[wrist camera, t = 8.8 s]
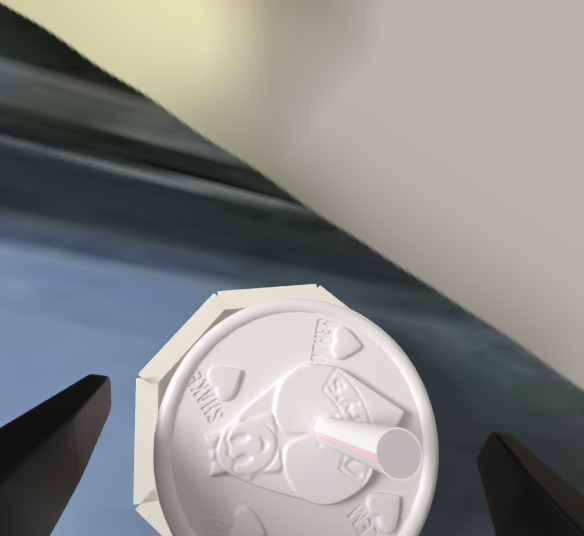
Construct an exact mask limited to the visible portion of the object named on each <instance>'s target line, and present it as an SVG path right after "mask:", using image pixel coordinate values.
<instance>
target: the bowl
mask: <svg viewBox="0 0 584 536" xmlns="http://www.w3.org/2000/svg"><path fill="white" fill-rule="evenodd" d="M283 298H311V299H318V300H323V301H327V302H331V303H335V304H338V305H341V306H343V307H346V308H348V307H347V306H345V305H344V304H343V303H342V302H340V301H339V300H338V299H337V298H335V297H334V296H333V295H332V294H330V293H329V292H328V291H327V290H325V289H324V288H323V287H322V286H319V287H318V288H317V287H316V284H310V285H296V286H283V287H270V288H256V289H243V290H230V291H218V296H217V295H215V294H213V295H212V296H211V297H210V298H209V299H208V300H207V301H206V302H205V303H204V304H203V305H202V306H201V307H200V309H199V310H198V311H197V312H196V313H195V314H194V315H193V316H192V317H191V318H190V319H189V320H188V321H187V322H186V323H185V325H184V326H183V327H182V328H181V329H180V330H179V331H178V332H177V333H176V334H175V335H174V336H173V337H172V338H171V339H170V341H169V342H168V343H167V344H166V345H165V346H164V347H163V348H162V349H161V350H160V351H159V352H158V353H157V354H156V355H155V357H154V358H153V359H152V360H151V361H150V362H149V363H148V364H147V365H146V366H145V367H144V368H143V369H142V370H141V371H140V373H139V375H140V376H141V377H142V378H137V379H136V410H135V456H134V502H133V505H134V504H140V505H139V506H138V507H137V508H136V511H137V512H138V513H139V514H140V515H141V516H142V517H143V518H144V519H145V520H146V521H148V522H149V523H150V524H151V525H152V526H153V527H154V528H155V529H156V530H157V531H158V532H159V533H160V534H161V535H162V536H173V535H172V534H171V532H170V529H169V527H168V525H167V523H166V520H165V518H164V515H163V512H162V509H161V506H160V503H159V499H158V494H157V490H156V485H155V477H154V466H153V447H154V435H155V428H156V422H157V418H158V414H159V410H160V406H161V403H162V400H163V397H164V395H165V392H166V390H167V387H168V385H169V383H170V381H171V379H172V377H173V375H174V373H175V371H176V370H177V368H178V366H179V365H180V363H181V362H182V360H183V359H184V357H185V356H186V355H187V353H188V352H189V351H190V350H191V349H192V347H193V346H194V345H195V344H196V343H197V342H198V341H199V340H200V339H201V338H202V337H203V336H204V335H205V334H206V333H207V332H208V331H209V330H211V329H212V328H213V327H214V326H215V325H217V324H218V323H220V322H221V321H223V320H224V319H226V318H227V317H229V316H231V315H232V314H234V313H236V312H238V311H240V310H242V309H245V308H247V307H249V306H252V305H255V304H258V303H261V302H265V301H270V300H275V299H283ZM348 309H349V308H348ZM350 310H351V309H350Z"/></svg>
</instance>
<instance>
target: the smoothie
mask: <svg viewBox="0 0 584 536" xmlns="http://www.w3.org/2000/svg"><path fill="white" fill-rule="evenodd" d="M438 463H439V447H438V434H437V428H436V422H435V417H434V413H433V409H432V405H431V403H430V400H429V397H428V394H427V391H426V389H425V387H424V384H423V382H422V380H421V378H420V376H419V374H418V373H417V371H416V369H415V367H414V366H413V364H412V363H411V361H410V360H409V358H408V357H407V355H406V354H405V353H404V351H403V350H402V349H401V348H400V346H399V345H398V344H397V343H396V342H395V341H394V340H393V339H392V338H391V337H390V336H389V335H388V334H387V333H386V332H385V331H383V330H382V329H381V328H380V327H379V326H377V325H376V324H374V323H373V322H372V321H370V320H369V319H367V318H365V317H364V316H362V315H361V314H359V313H357V312H355V311H353V310H350V309H348V308H346V307H343V306H341V305H338V304H335V303H331V302H327V301H323V300H318V299H311V298H283V299H275V300H270V301H265V302H261V303H258V304H255V305H252V306H249V307H247V308H245V309H242V310H240V311H238V312H236V313H234V314H232V315H231V316H229V317H227V318H226V319H224V320H223V321H221V322H220V323H218V324H217V325H215V326H214V327H213V328H212V329H211V330H209V331H208V332H207V333H206V334H205V335H204V336H203V337H202V338H201V339H200V340H199V341H198V342H197V343H196V344H195V345H194V346H193V347H192V349H191V350H190V351H189V352H188V353H187V355H186V356H185V357H184V359H183V360H182V362H181V363H180V365H179V366H178V368H177V370H176V371H175V373H174V375H173V377H172V379H171V381H170V383H169V385H168V387H167V390H166V392H165V395H164V397H163V400H162V403H161V406H160V410H159V414H158V418H157V422H156V428H155V435H154V447H153V466H154V477H155V485H156V490H157V494H158V499H159V503H160V506H161V509H162V512H163V515H164V518H165V520H166V523H167V525H168V527H169V529H170V532H171V534H172V535H173V536H419V534H420V532H421V530H422V528H423V526H424V524H425V521H426V519H427V516H428V513H429V511H430V508H431V504H432V500H433V497H434V493H435V487H436V482H437V474H438Z"/></svg>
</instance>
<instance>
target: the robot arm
mask: <svg viewBox="0 0 584 536" xmlns="http://www.w3.org/2000/svg"><path fill="white" fill-rule="evenodd" d="M110 408H111V383H110V379H109V377H107V376H102V375H95V374H90V375H88V376H86V377H84V378H83V379H81V380H79V381H78V382H76V383H74V384H73V385H71V386H69V387H68V388H66V389H64V390H63V391H61V392H59V393H58V394H56V395H54V396H53V397H51V398H49V399H48V400H46V401H44V402H43V403H41V404H39V405H38V406H36V407H34V408H33V409H31V410H29V411H28V412H26V413H24V414H23V415H21V416H19V417H17V418H16V419H14V420H12V421H11V422H9V423H7V424H6V425H4V426H2V427H1V428H0V536H50V534H51V533H52V531H53V529H54V527H55V525H56V524H57V522H58V520H59V518H60V516H61V515H62V513H63V511H64V509H65V507H66V506H67V504H68V502H69V500H70V498H71V497H72V495H73V493H74V491H75V489H76V487H77V485H78V483H79V482H80V480H81V477H82V475H83V473H84V471H85V468H86V466H87V464H88V461H89V459H90V457H91V454H92V452H93V450H94V447H95V445H96V443H97V440H98V438H99V436H100V433H101V431H102V429H103V427H104V424H105V422H106V420H107V417H108V415H109V412H110ZM477 463H478V469H479V473H480V476H481V480H482V484H483V488H484V492H485V496H486V500H487V504H488V508H489V512H490V516H491V520H492V523H493V527H494V530H495V534H496V536H584V496H583V495H582V494H580V493H579V492H578V491H577V490H576V489H575V488H573V487H572V486H571V485H570V484H569V483H567V482H566V481H565V480H564V479H563V478H561V477H560V476H559V475H558V474H557V473H555V472H554V471H553V470H552V469H551V468H550V467H548V466H547V465H546V464H545V463H544V462H542V461H541V460H540V459H539V458H538V457H536V456H535V455H534V454H533V453H532V452H531V451H529V450H528V449H527V448H526V447H525V446H523V445H522V444H521V443H520V442H519V441H517V440H516V439H515V438H514V437H513V436H511V435H509V434H506V433H499V432H492V433H490V434H489V436H488V437H487V439H486V441H485V443H484V445H483V447H482V448H481V450H480V452H479V454H478V459H477Z"/></svg>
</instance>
